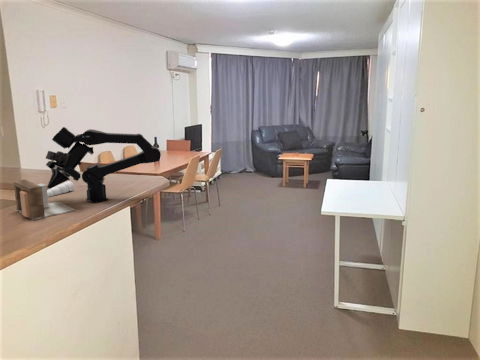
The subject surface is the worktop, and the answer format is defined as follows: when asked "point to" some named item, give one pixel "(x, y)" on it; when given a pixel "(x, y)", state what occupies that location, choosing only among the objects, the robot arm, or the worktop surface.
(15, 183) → the socket block
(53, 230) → the worktop surface
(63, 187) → the unicorn horn
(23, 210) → the terracotta plug
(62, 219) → the worktop surface
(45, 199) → the grey plug
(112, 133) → the robot arm
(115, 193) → the worktop surface
